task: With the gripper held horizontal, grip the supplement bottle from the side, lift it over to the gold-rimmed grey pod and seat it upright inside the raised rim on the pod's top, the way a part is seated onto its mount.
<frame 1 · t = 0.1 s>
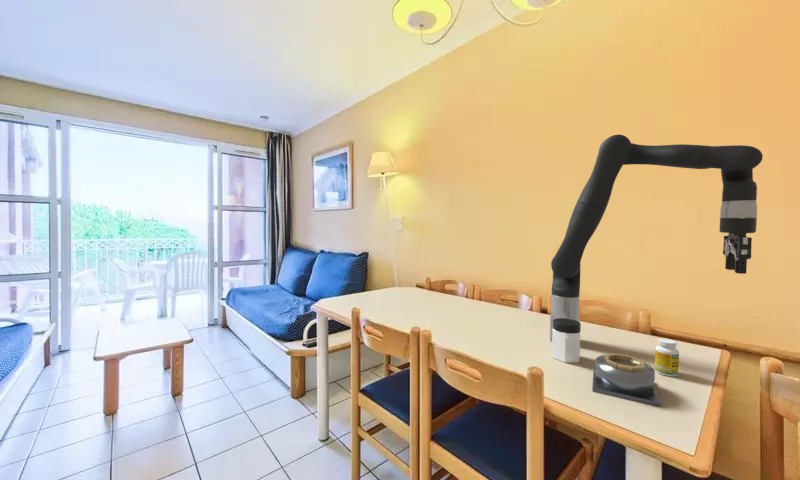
hand: (735, 271, 97), 29 cm above the table, tool pointing down, fingers open, 8 cm apart
jar: (565, 358, 107), on the table
gold-rimmed grey pod: (623, 386, 88), on the table
supplement bottle: (666, 373, 95), on the table
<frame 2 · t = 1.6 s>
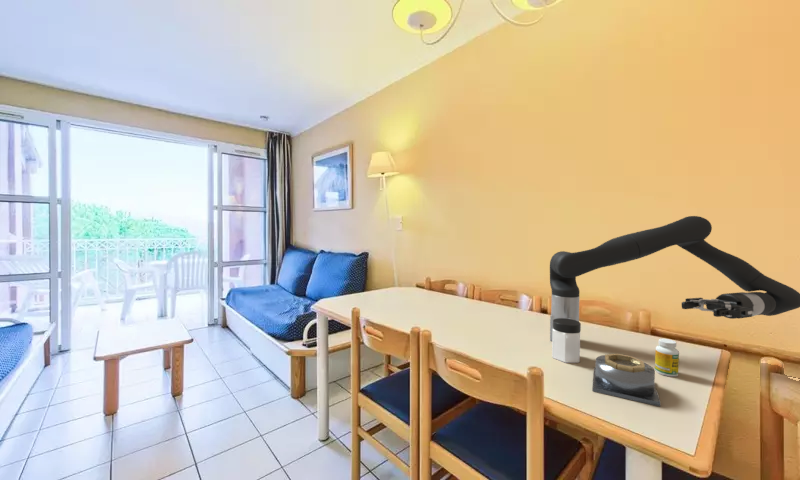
hand: (698, 309, 97), 18 cm above the table, tool horizontal, fingers open, 8 cm apart
nothing on the table moved.
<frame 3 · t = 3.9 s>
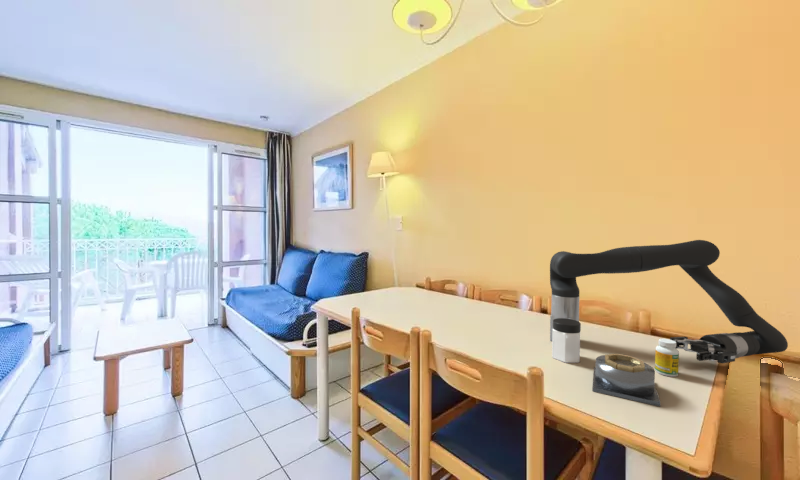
hand: (681, 351, 96), 6 cm above the table, tool horizontal, fingers open, 8 cm apart
nothing on the table moved.
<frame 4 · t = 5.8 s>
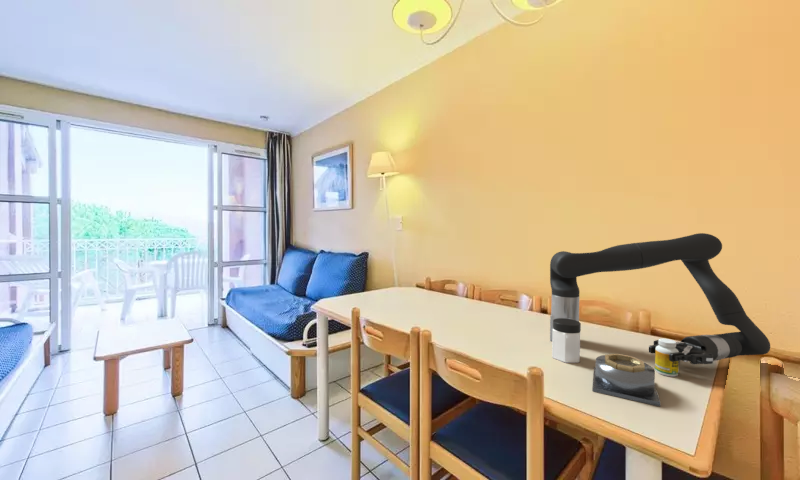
hand: (660, 353, 94), 6 cm above the table, tool horizontal, fingers closed on supplement bottle, 5 cm apart
supplement bottle: (666, 373, 95), on the table, touching gripper
everything else where it was.
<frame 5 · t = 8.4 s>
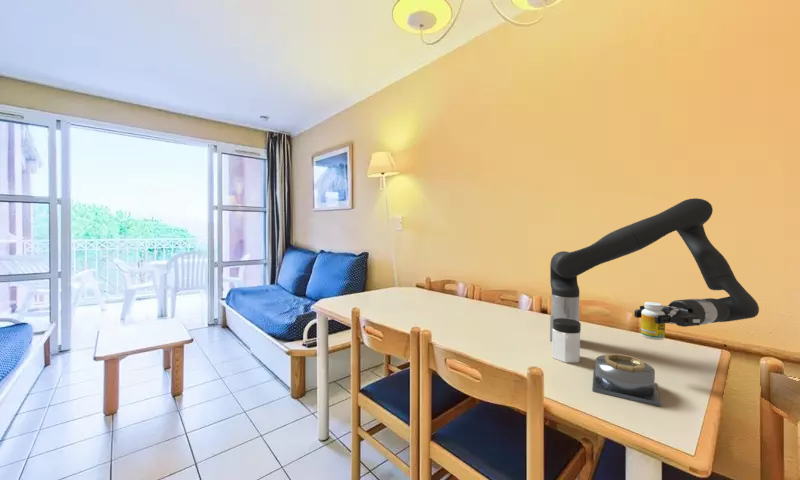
hand: (645, 316, 91), 18 cm above the table, tool horizontal, fingers closed on supplement bottle, 5 cm apart
supplement bottle: (652, 337, 92), point 11 cm above the table, touching gripper
everything else where it was.
when the fingers open (13 cm above the table, at t = 10.8 s): supplement bottle stays where it is, resting on gold-rimmed grey pod.
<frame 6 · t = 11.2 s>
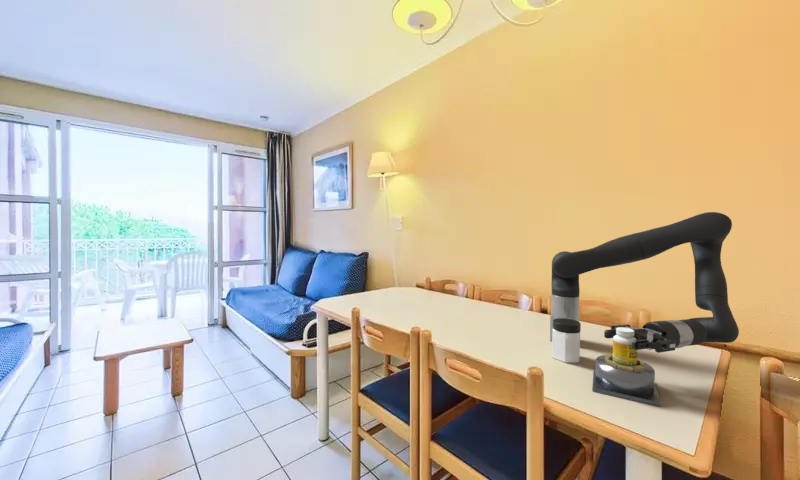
hand: (618, 339, 86), 13 cm above the table, tool horizontal, fingers open, 8 cm apart
supplement bottle: (624, 365, 87), point 6 cm above the table, touching gold-rimmed grey pod
everything else where it was.
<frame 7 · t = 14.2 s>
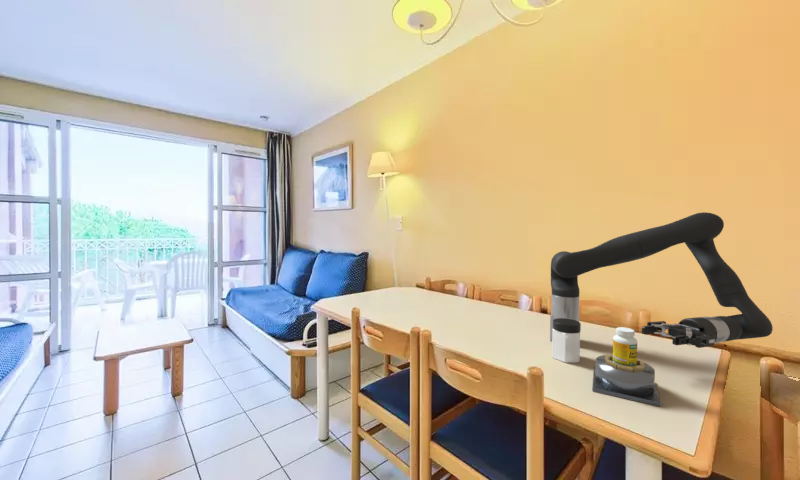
hand: (657, 335, 89), 13 cm above the table, tool horizontal, fingers open, 8 cm apart
nothing on the table moved.
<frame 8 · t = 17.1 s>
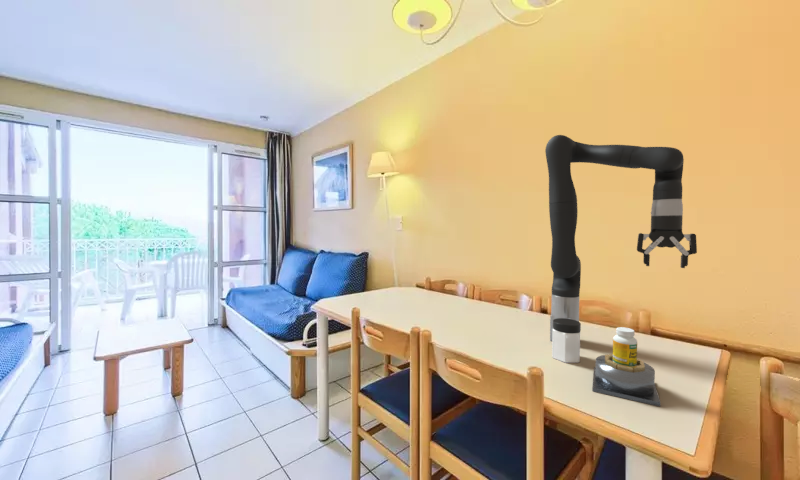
hand: (664, 266, 101), 30 cm above the table, tool pointing down, fingers open, 8 cm apart
nothing on the table moved.
at the end: supplement bottle 0.1 cm off-centre on the gold-rimmed grey pod, point 5.8 cm above the gold-rimmed grey pod's base; supplement bottle tilted 0°; the gripper is holding nothing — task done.
